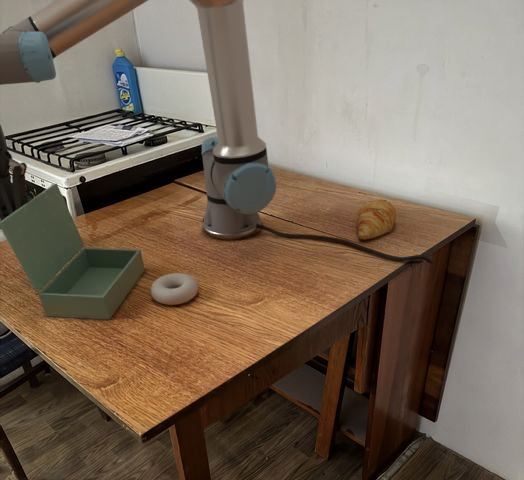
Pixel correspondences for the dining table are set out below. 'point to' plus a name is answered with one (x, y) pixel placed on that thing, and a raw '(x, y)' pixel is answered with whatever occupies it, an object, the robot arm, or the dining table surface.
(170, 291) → the donut
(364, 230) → the croissant
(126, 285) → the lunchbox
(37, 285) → the green box lid
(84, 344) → the dining table surface
